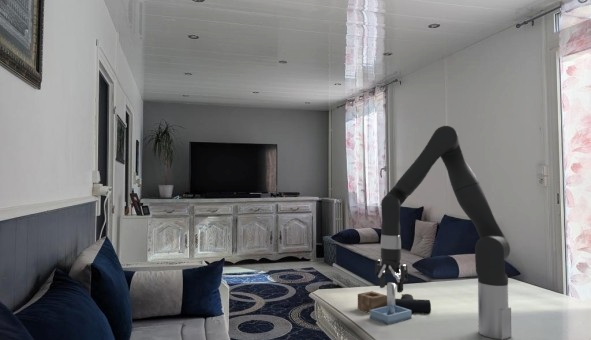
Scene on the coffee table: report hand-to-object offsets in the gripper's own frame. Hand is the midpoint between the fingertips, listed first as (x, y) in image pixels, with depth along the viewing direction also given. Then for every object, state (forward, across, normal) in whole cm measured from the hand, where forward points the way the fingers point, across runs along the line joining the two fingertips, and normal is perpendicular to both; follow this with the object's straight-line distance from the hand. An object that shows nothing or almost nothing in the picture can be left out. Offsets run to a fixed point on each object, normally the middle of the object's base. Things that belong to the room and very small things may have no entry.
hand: (390, 289), depth 153 cm
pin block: (+11, +12, -2) cm, 16 cm away
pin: (+10, 0, 0) cm, 10 cm away
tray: (+11, 0, 0) cm, 11 cm away
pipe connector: (+11, +4, -16) cm, 20 cm away
